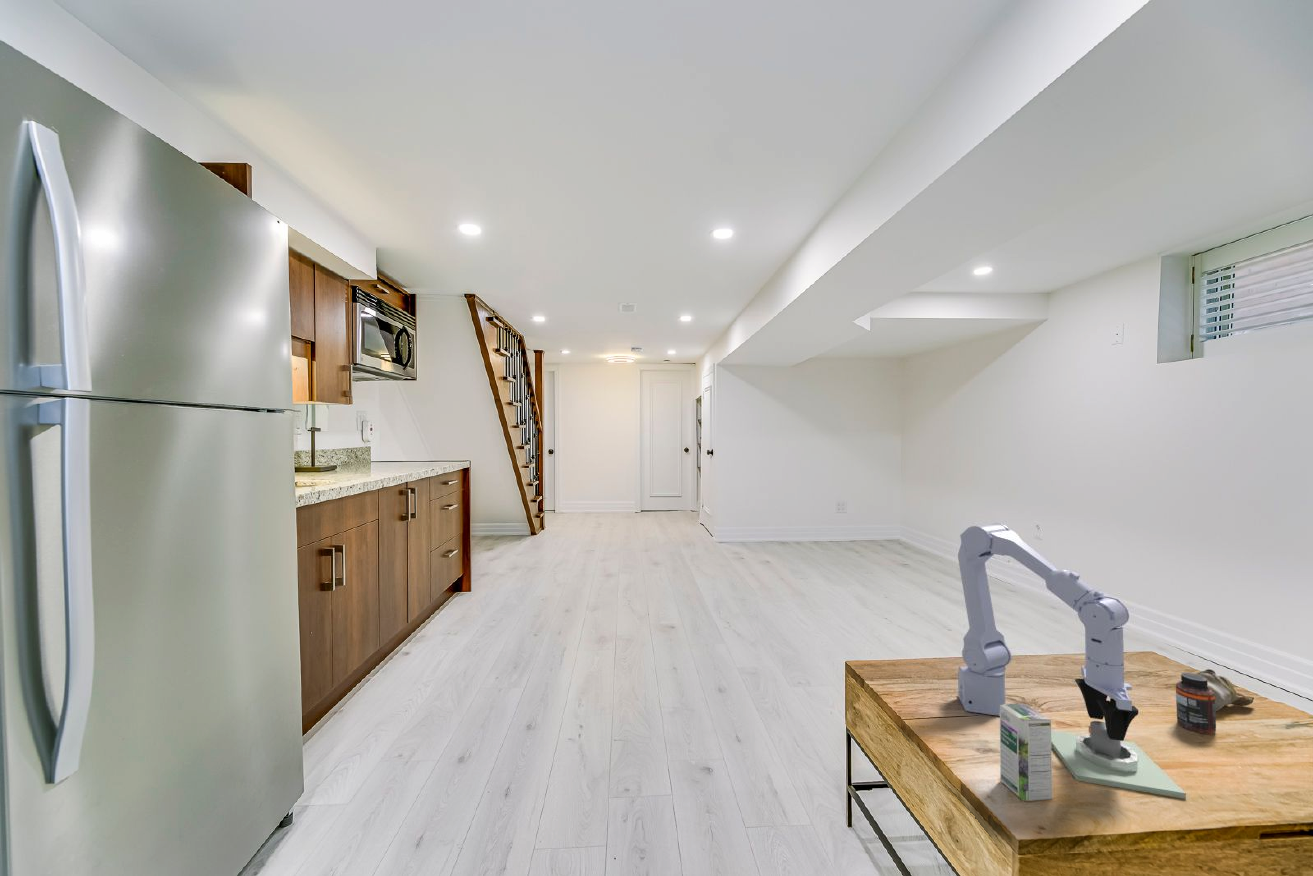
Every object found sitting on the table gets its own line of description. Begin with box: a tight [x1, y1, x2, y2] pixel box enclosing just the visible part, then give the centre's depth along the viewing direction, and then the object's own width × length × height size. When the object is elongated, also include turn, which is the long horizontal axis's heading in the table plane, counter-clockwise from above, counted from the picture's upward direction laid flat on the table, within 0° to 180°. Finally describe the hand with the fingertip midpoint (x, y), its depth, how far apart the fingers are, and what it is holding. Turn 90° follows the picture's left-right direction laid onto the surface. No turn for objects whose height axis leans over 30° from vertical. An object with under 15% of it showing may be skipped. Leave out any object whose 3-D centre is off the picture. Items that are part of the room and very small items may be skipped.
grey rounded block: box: [1088, 720, 1121, 759], centre depth 99 cm, size 4×5×6 cm
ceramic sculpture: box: [1196, 669, 1255, 712], centre depth 121 cm, size 11×9×15 cm
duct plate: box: [1051, 729, 1187, 800], centre depth 99 cm, size 16×16×1 cm
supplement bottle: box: [1175, 672, 1217, 735], centre depth 111 cm, size 6×6×11 cm
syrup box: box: [999, 702, 1053, 802], centre depth 92 cm, size 6×6×14 cm
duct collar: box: [1076, 733, 1139, 773], centre depth 99 cm, size 9×9×2 cm
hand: (1105, 728), depth 99 cm, fingers open, 7 cm apart
